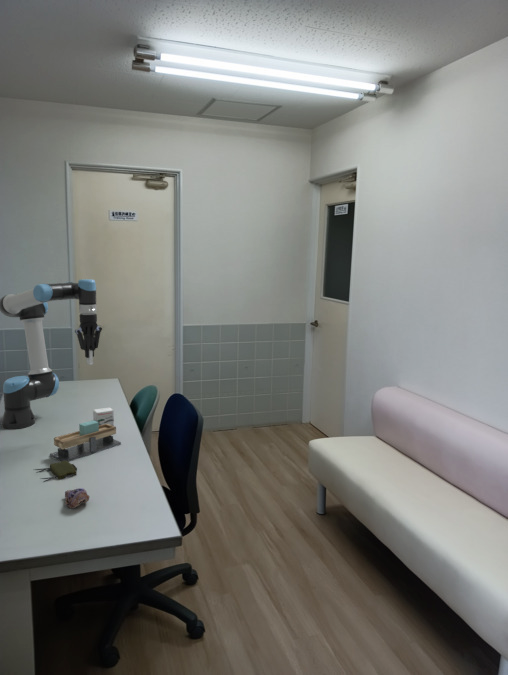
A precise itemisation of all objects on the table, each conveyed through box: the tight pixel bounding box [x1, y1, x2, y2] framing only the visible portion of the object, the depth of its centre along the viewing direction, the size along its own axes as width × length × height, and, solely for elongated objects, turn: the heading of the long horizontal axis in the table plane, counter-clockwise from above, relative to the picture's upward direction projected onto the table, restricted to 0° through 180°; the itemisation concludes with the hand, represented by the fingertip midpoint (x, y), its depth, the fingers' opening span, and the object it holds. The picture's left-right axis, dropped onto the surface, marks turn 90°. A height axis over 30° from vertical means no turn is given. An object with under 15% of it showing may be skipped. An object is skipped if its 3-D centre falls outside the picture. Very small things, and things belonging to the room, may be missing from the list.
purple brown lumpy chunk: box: [64, 487, 90, 509], centre depth 175 cm, size 12×8×6 cm, turn 36°
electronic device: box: [33, 461, 78, 483], centre depth 198 cm, size 14×3×15 cm
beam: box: [53, 424, 117, 449], centre depth 220 cm, size 8×26×3 cm, turn 140°
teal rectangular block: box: [78, 420, 99, 436], centre depth 221 cm, size 4×7×5 cm, turn 140°
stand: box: [49, 435, 122, 463], centre depth 221 cm, size 11×28×7 cm, turn 140°
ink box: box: [92, 406, 115, 426], centre depth 241 cm, size 9×5×12 cm, turn 123°
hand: (89, 364), depth 233 cm, fingers closed
